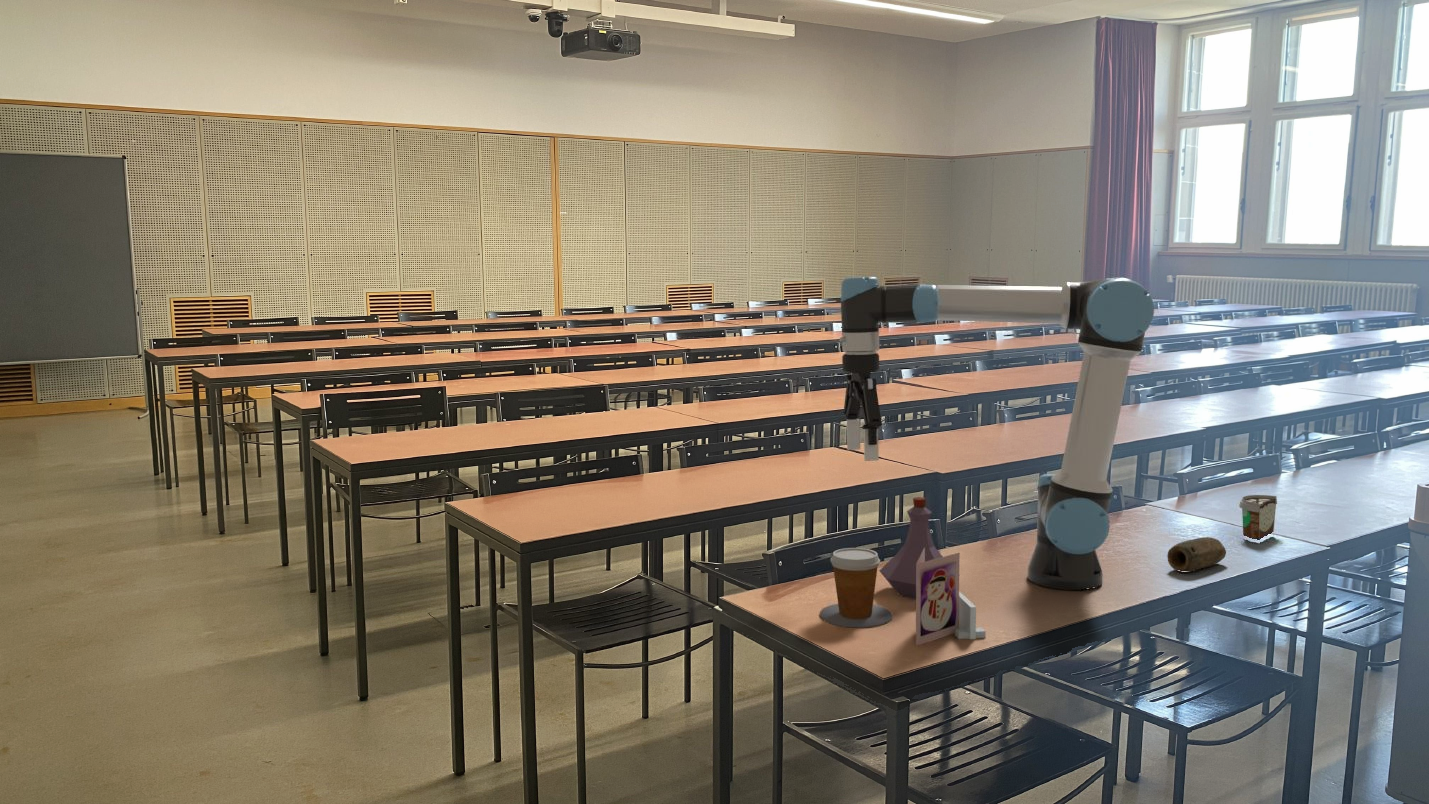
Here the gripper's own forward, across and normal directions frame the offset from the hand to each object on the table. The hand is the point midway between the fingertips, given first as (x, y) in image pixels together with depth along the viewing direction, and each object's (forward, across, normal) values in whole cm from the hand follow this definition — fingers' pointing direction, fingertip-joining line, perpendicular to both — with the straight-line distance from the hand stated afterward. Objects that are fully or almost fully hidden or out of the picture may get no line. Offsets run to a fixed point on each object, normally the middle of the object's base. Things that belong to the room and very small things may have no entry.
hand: (862, 455), depth 207 cm
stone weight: (+30, -1, +76) cm, 82 cm away
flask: (+29, +4, +10) cm, 31 cm away
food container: (+30, -22, +104) cm, 110 cm away
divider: (+29, +23, +12) cm, 39 cm away
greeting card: (+29, +28, +4) cm, 41 cm away
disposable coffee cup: (+29, +16, -6) cm, 33 cm away
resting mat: (+29, +16, -6) cm, 33 cm away
